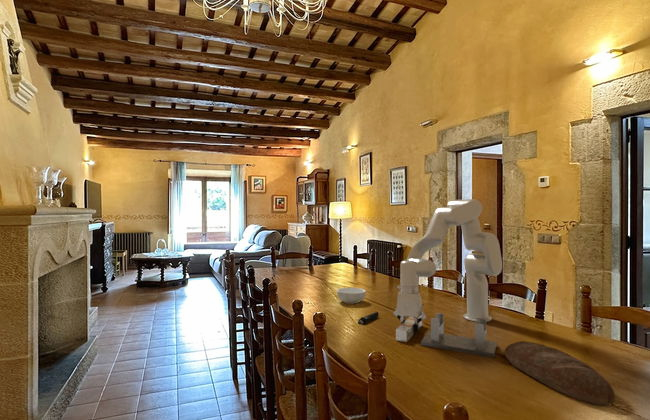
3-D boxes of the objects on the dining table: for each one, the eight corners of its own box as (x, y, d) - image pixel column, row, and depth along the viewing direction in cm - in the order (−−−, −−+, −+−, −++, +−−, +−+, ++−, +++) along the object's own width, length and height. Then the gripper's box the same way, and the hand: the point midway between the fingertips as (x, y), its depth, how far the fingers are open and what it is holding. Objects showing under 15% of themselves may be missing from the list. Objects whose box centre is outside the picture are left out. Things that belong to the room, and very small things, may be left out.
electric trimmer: (380, 318, 180) (380, 312, 180) (364, 325, 168) (364, 318, 168) (374, 317, 182) (374, 310, 182) (357, 324, 170) (357, 317, 170)
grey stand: (428, 335, 153) (428, 310, 154) (496, 346, 141) (496, 318, 141) (420, 345, 142) (420, 318, 142) (494, 357, 129) (493, 328, 129)
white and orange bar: (412, 324, 168) (412, 314, 169) (422, 325, 166) (422, 315, 166) (395, 340, 148) (395, 329, 148) (406, 342, 145) (406, 330, 145)
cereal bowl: (367, 305, 203) (367, 293, 203) (337, 306, 203) (337, 293, 203) (364, 298, 220) (364, 287, 220) (336, 298, 220) (336, 287, 220)
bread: (529, 354, 134) (529, 331, 134) (632, 404, 98) (632, 373, 98) (492, 357, 130) (491, 334, 130) (585, 412, 95) (584, 379, 95)
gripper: (387, 289, 158) (388, 331, 158) (426, 293, 150) (427, 337, 149) (393, 286, 164) (393, 326, 164) (431, 289, 156) (431, 332, 156)
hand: (409, 331), depth 157 cm, fingers closed on white and orange bar, 4 cm apart
